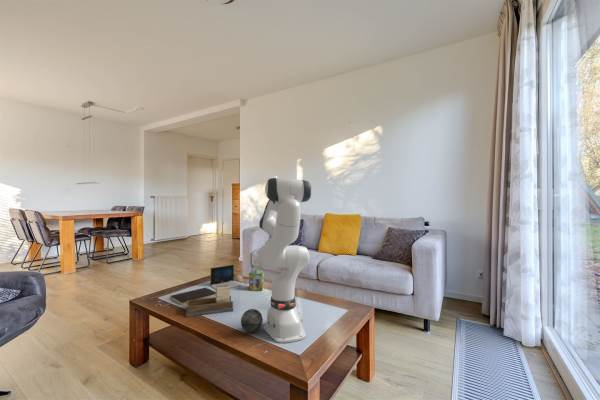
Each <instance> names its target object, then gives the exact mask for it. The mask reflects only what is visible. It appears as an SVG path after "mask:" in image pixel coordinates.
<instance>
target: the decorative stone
mask: <svg viewBox="0 0 600 400" xmlns="http://www.w3.org/2000/svg"><path fill="white" fill-rule="evenodd" d="M263 320H264V319H263V316H262V313H261V312H260V311H259V310H258V309H255V308H250V309H247V310H246V311H245V312H243V314H242V316H241V318H240V325H241V328H242V329H243V330H244V331H245V332H248V333H255V332H258V331H259V330H260V328H261V327H262V325H263Z"/></svg>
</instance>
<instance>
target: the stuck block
mask: <svg viewBox="0 0 600 400" xmlns="http://www.w3.org/2000/svg"><path fill="white" fill-rule="evenodd" d="M215 292H216V296H215V297H216V303H221V302H230V296H231V288H230V287H229V285H219V286H216V289H215Z"/></svg>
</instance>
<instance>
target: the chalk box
mask: <svg viewBox="0 0 600 400" xmlns="http://www.w3.org/2000/svg"><path fill="white" fill-rule="evenodd" d="M264 280H265V271H264V270H258V268H257V266H255V267H254V270H250V272H249V273H248V291H263V289H264V287H265V284H264V283H265V281H264Z"/></svg>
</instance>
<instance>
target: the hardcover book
mask: <svg viewBox="0 0 600 400" xmlns="http://www.w3.org/2000/svg"><path fill="white" fill-rule="evenodd" d="M214 297H216V290H212V289H210V288H208V287H201V288H197V289H193V290H188V291H185V292H181V293H176V294H172V295H170V297H169V298H170V299H171V298H172V299H171V300H173V301H174V300H175V302H176V303H178V304H179V305H181V306H185V305H186V303H187V300H195V299H204V298H214Z"/></svg>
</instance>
